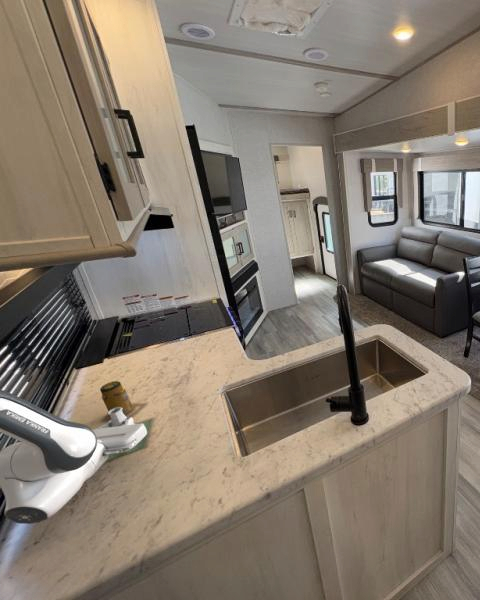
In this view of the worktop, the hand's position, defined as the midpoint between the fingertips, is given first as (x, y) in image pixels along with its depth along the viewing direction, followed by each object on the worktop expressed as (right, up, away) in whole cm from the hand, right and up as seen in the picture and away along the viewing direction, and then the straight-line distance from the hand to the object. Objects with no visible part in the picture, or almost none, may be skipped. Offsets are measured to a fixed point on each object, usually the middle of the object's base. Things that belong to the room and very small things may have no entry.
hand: (122, 420), depth 94 cm
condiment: (-12, -3, +14) cm, 18 cm away
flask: (0, -6, +1) cm, 6 cm away
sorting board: (-4, -8, 0) cm, 9 cm away
